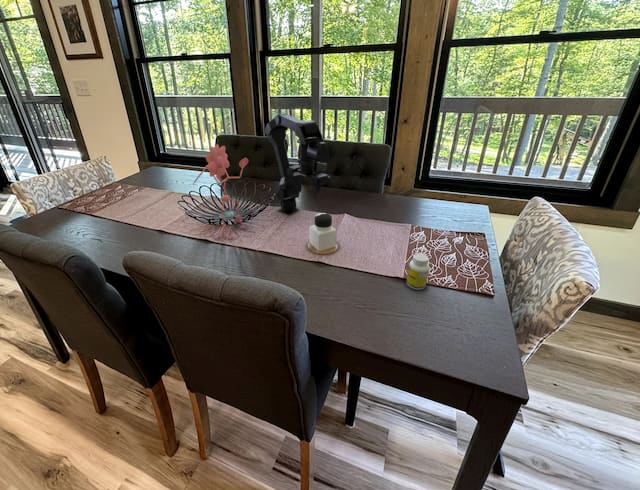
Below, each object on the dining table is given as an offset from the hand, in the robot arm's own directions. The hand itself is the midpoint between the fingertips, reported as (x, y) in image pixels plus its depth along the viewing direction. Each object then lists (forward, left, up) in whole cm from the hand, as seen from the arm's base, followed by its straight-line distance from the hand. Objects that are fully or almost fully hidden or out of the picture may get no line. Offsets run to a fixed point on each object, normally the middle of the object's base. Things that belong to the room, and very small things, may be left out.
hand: (307, 195), depth 123 cm
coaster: (+15, -10, -13) cm, 22 cm away
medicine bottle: (+15, -10, -13) cm, 22 cm away
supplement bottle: (+49, -10, -13) cm, 52 cm away
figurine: (-23, -25, -13) cm, 36 cm away
